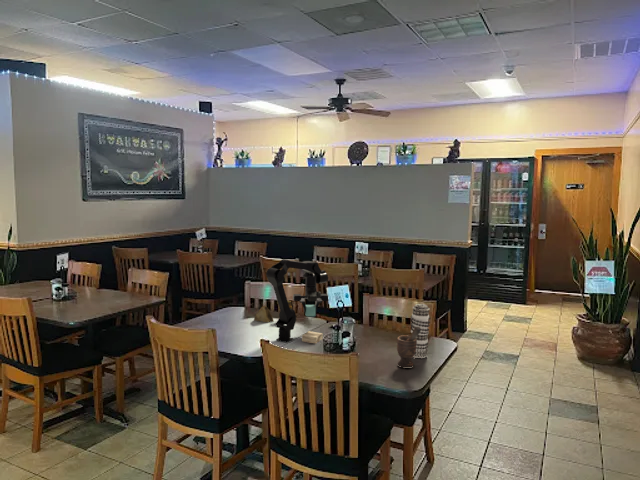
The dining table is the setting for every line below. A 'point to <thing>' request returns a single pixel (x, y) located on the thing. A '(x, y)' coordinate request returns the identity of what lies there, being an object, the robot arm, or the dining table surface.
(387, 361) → the dining table surface
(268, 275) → the robot arm
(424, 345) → the decorative candle
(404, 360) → the mortar and pestle
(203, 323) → the dining table surface
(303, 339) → the beech block
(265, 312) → the rock
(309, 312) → the teal cube
